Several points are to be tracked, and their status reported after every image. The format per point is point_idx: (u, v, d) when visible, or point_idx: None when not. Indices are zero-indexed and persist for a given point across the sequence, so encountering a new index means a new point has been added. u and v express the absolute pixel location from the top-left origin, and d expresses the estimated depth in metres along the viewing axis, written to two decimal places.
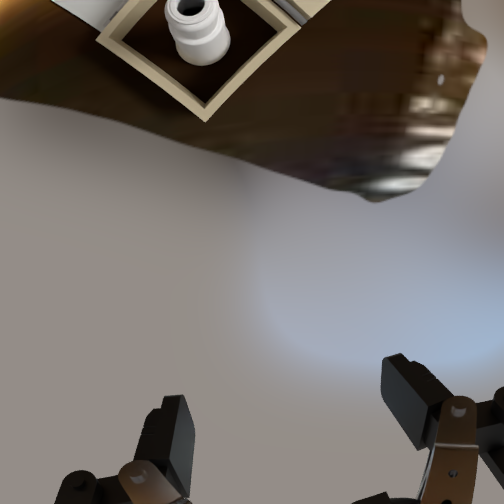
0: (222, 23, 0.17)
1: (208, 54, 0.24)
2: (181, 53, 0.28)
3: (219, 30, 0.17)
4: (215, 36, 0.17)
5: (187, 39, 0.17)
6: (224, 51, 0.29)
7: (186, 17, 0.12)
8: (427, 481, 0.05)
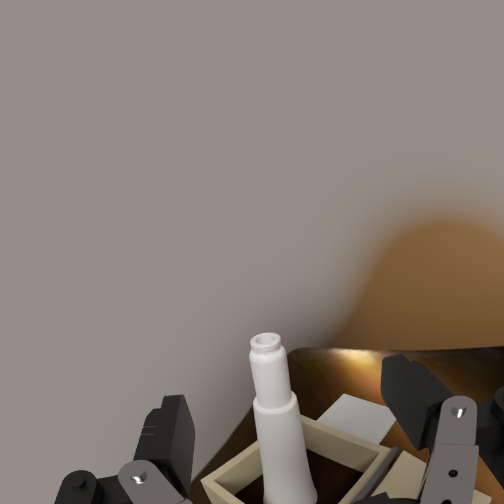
0: (271, 414, 0.23)
1: (262, 467, 0.26)
2: None
3: (264, 412, 0.23)
4: (259, 411, 0.23)
5: None
6: None
7: (254, 339, 0.23)
8: (427, 481, 0.05)
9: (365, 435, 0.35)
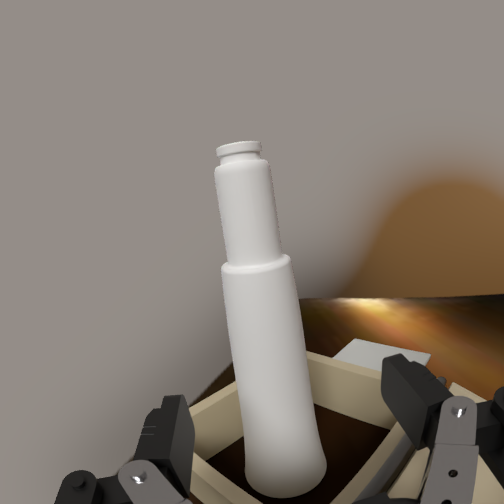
0: (247, 272, 0.15)
1: (239, 402, 0.18)
2: None
3: (237, 271, 0.15)
4: (229, 273, 0.15)
5: None
6: (262, 481, 0.17)
7: None
8: (427, 481, 0.05)
9: None
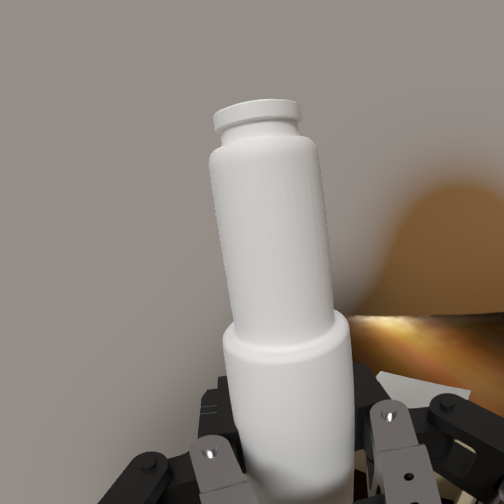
0: (275, 361, 0.07)
1: None
2: None
3: (254, 357, 0.07)
4: (238, 356, 0.08)
5: None
6: None
7: None
8: (385, 490, 0.05)
9: None
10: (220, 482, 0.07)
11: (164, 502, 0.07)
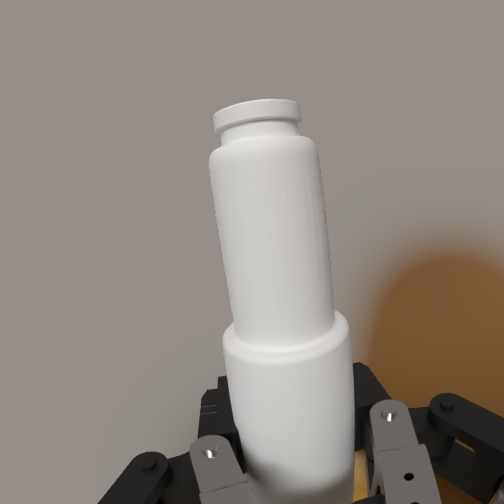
0: (275, 361, 0.07)
1: None
2: None
3: (254, 358, 0.07)
4: (238, 357, 0.08)
5: None
6: None
7: None
8: (385, 490, 0.05)
9: None
10: (220, 482, 0.07)
11: (164, 502, 0.07)
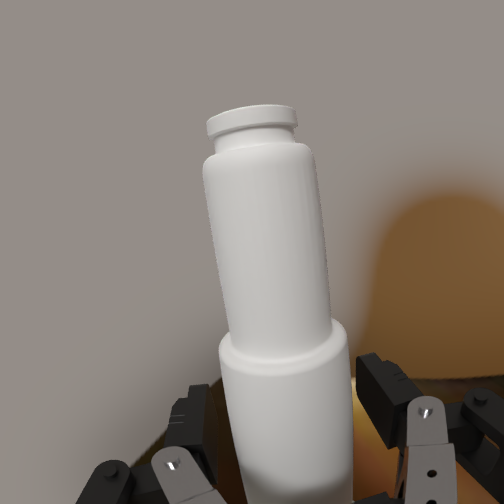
0: (272, 372, 0.07)
1: None
2: None
3: (251, 369, 0.07)
4: (235, 368, 0.08)
5: None
6: None
7: None
8: (407, 484, 0.05)
9: None
10: (188, 492, 0.06)
11: None
